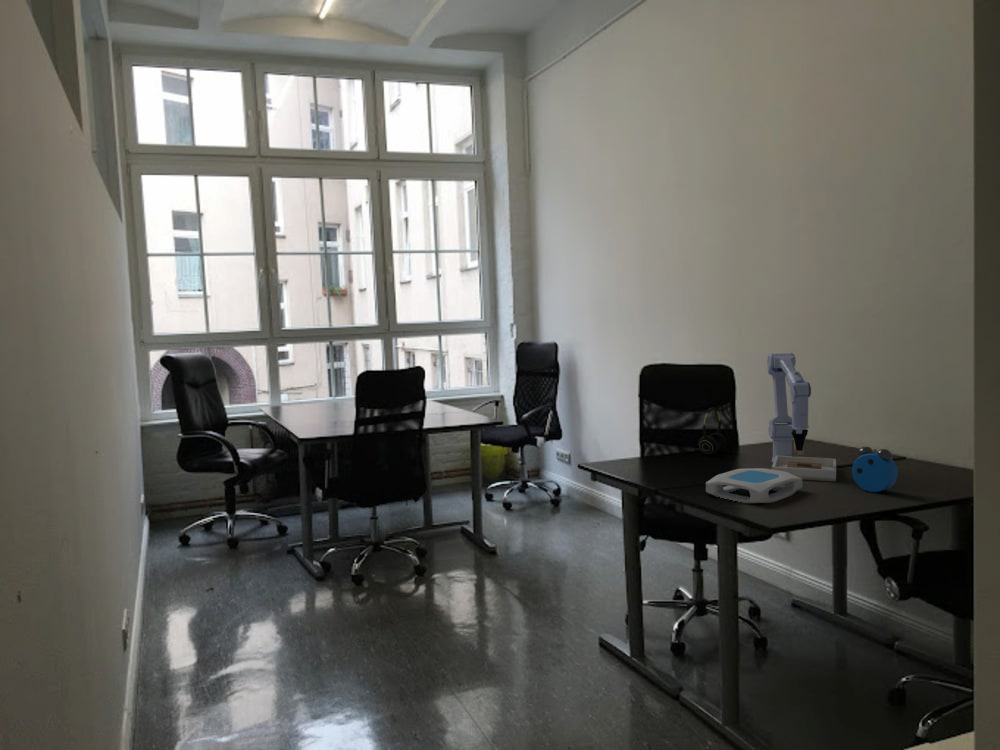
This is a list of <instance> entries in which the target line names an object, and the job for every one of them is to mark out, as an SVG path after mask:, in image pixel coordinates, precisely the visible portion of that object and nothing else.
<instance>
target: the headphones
mask: <svg viewBox="0 0 1000 750" xmlns="http://www.w3.org/2000/svg"><path fill="white" fill-rule="evenodd" d="M712 411H715V412H716V413H717V416H718V424H717V425H718V426H717V431H716V432H713V433H711V434H710V435H708V433H707V428H706V427H707V426H706V420H707V416H708V414H710V413H711V412H712ZM705 413H706V414H705V416H704V419H703V426H702V427H703V428H702V431H703V436H701V437H700V438H699V440H698V447H699V449H700V451H701V452H703V453H704V454H706V455H714V454H716V453H720V452H722V451H723V450H724V449H725V447H726V445H727V440H726V438H725V436H724V435H723V434H721V428H722V427H721V425H722V419H721V415H720V411H719V410H718V408H716V407H710V408H708V409H707V410H706V412H705Z"/></svg>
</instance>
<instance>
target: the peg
mask: <svg viewBox="0 0 1000 750" xmlns="http://www.w3.org/2000/svg"><path fill="white" fill-rule="evenodd" d="M793 454H794V455H795V456H796V455H797V456H798V455H799V456H801V455H805V445H804V446H803V450H802V451H797V450H796V446H795V441H794V440H793Z"/></svg>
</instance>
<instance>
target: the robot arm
mask: <svg viewBox="0 0 1000 750" xmlns="http://www.w3.org/2000/svg"><path fill="white" fill-rule="evenodd" d="M766 360H767V361H766V363H767V372H768V373H767V374H768V375H770V376H772V377H771V378H772V383H773V384H772V385H773V398H774V412H775V416H773V417H772V418H770V419H769V421H768V436H769V438H770V439H771V440H772V458H771V461H770V462H771V463H773V462H774V459H775V456H792V453H793V450H792V448H793V444H792V443H793V442H794V441H795V446H796V450H797V451H802V450H803V446H804V447H805V440H806V437H807V436H808V434H809V433H808V432H809V428H810V427H809V398H810V397H811V395H812V387H811V383H810V382H809V381H805V379H804V376H802V373H801V372H799V371H798V370H796V367H795V366H796V361H797V360H796V355H795V354H794V353H793V352H787V353H786V352H784V353H773V352H771V353H769V354H768V355H767V359H766ZM786 382H787V384H788V386H789V394H790V402H791V416H790V415H789V411H788V397H787V384H786ZM792 457H793V456H792Z"/></svg>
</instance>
